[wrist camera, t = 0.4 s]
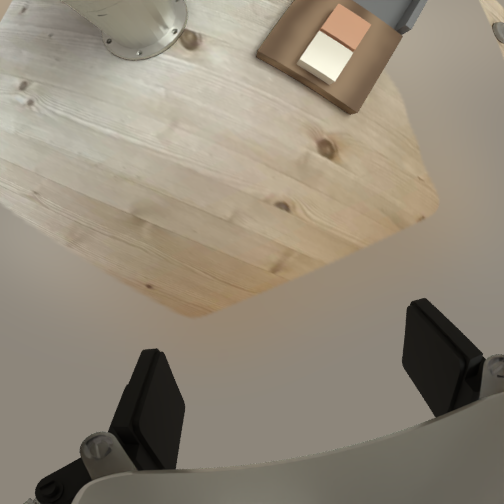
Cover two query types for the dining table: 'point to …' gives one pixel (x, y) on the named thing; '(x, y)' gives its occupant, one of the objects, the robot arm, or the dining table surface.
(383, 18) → the box
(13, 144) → the dining table surface
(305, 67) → the cream tile
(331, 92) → the walnut board
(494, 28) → the rook chess piece
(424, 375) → the robot arm
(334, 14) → the terracotta tile
